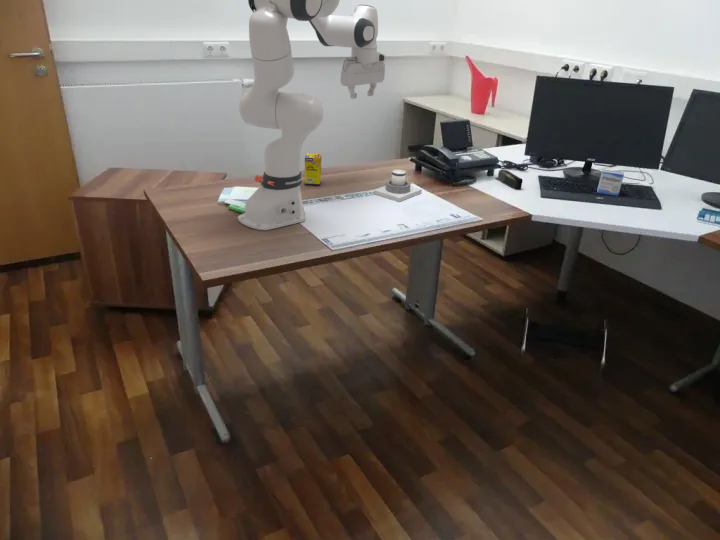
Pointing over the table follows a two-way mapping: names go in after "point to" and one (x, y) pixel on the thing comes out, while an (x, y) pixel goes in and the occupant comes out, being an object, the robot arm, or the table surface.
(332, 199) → the table surface
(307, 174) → the supplement box
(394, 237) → the table surface
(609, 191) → the medicine box
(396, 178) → the lens cylinder
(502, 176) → the dark green long block
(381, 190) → the collar mount
